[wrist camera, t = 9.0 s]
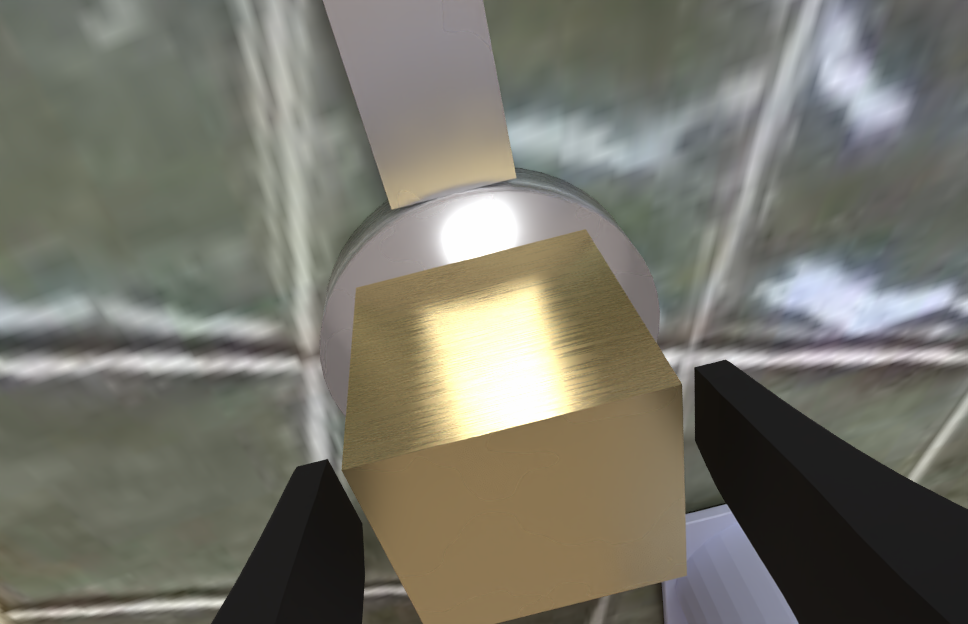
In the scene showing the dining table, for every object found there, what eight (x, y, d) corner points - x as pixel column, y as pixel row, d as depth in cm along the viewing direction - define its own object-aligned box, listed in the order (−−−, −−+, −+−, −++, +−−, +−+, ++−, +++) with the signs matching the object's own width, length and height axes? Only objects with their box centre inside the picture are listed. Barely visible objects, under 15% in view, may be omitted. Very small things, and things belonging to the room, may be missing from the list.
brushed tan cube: (607, 398, 16) (687, 575, 11) (419, 445, 16) (431, 639, 11) (585, 229, 13) (681, 384, 9) (356, 287, 13) (341, 470, 9)
